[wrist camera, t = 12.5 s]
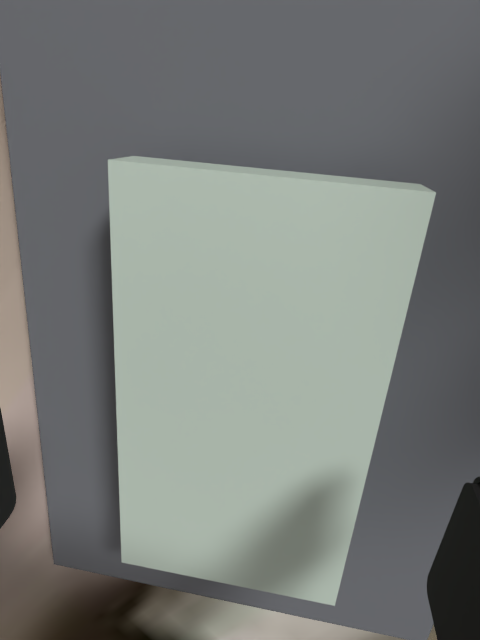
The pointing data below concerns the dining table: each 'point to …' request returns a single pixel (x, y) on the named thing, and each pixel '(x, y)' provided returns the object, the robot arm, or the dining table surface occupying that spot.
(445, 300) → the mat
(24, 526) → the dining table surface
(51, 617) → the dining table surface
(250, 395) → the lid
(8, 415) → the dining table surface
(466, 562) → the robot arm
